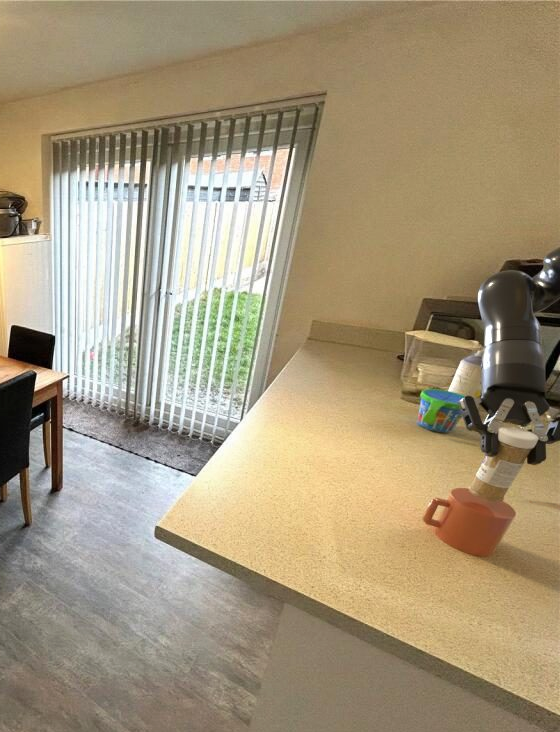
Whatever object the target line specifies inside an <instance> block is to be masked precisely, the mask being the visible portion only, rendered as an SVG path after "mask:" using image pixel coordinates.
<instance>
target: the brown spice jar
mask: <svg viewBox="0 0 560 732" xmlns="http://www.w3.org/2000/svg"><path fill="white" fill-rule="evenodd" d="M495 434H498V454H497V455H496V456H493V457H488V456H485V457H484V459H483V461H482V463H481V464H480V467H479V469H478V470H477V471H476V474H475V477H474V478H473V480H472V482H471V484H470V485H469V486H468V487H467V488H468V489H469V491H470V492H471V493H472V494H473V495H475V496H477V497H479V498H481V499H484V500H488V501H492V502H501V501H505V500H504V499H505V496H506V494H507V493H508V491H509V489H510V488H511V486H512V485H513V483H514V481H515V479H516V478H517V476H518V475H519V474H520V471H521V469H522V468H523V466H524V464H525V461H526V460H527V456H528V454H529V452H530V450H532V448H534V447H535V445H536V443H537V441H538V437H537V436H536V435H535V434H533V433H531V432H529V431H526V430H523V429H520V428H519V427H514V426H501V427H499V428H498V430H497V432H495Z"/></svg>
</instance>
